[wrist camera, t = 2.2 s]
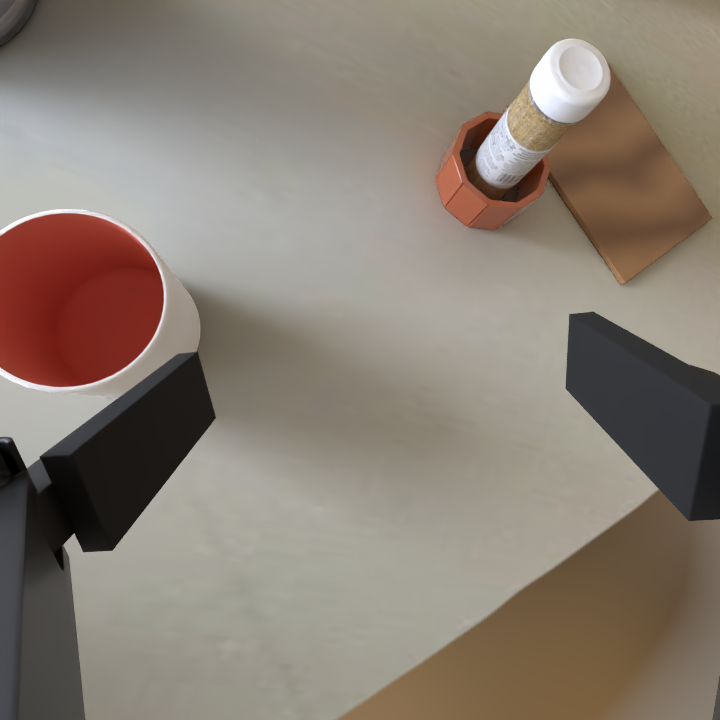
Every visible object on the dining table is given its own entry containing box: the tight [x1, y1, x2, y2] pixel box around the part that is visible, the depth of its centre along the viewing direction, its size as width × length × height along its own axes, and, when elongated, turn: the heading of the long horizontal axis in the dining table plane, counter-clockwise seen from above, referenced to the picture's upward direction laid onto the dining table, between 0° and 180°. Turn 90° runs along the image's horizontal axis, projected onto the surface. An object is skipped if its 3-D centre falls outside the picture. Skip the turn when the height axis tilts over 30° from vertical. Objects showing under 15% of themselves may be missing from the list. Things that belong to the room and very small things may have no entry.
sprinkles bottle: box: [464, 39, 611, 201], centre depth 32 cm, size 5×5×14 cm
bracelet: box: [436, 112, 550, 230], centre depth 37 cm, size 8×9×4 cm
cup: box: [0, 209, 200, 398], centre depth 27 cm, size 10×10×10 cm
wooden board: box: [504, 61, 712, 284], centre depth 41 cm, size 20×13×1 cm, turn 34°
